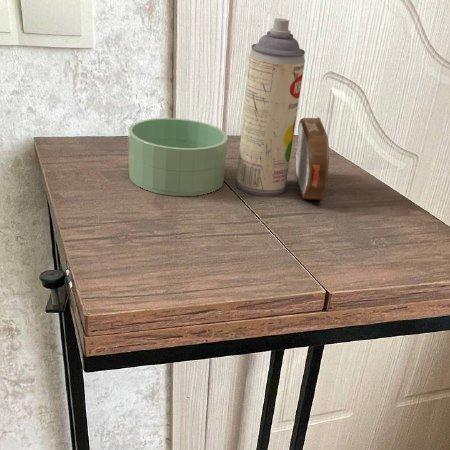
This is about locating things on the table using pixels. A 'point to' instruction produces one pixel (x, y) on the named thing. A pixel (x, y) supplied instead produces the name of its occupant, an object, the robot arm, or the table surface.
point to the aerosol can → (270, 111)
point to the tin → (312, 158)
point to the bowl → (176, 156)
